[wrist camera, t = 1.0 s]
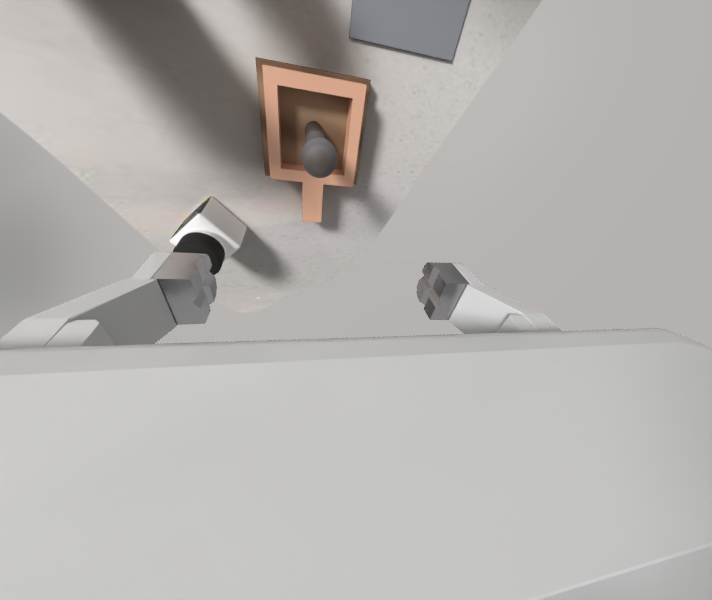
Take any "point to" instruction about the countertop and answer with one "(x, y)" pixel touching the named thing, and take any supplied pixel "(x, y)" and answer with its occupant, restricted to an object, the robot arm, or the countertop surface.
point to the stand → (310, 123)
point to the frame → (279, 170)
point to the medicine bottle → (210, 233)
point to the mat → (410, 24)
